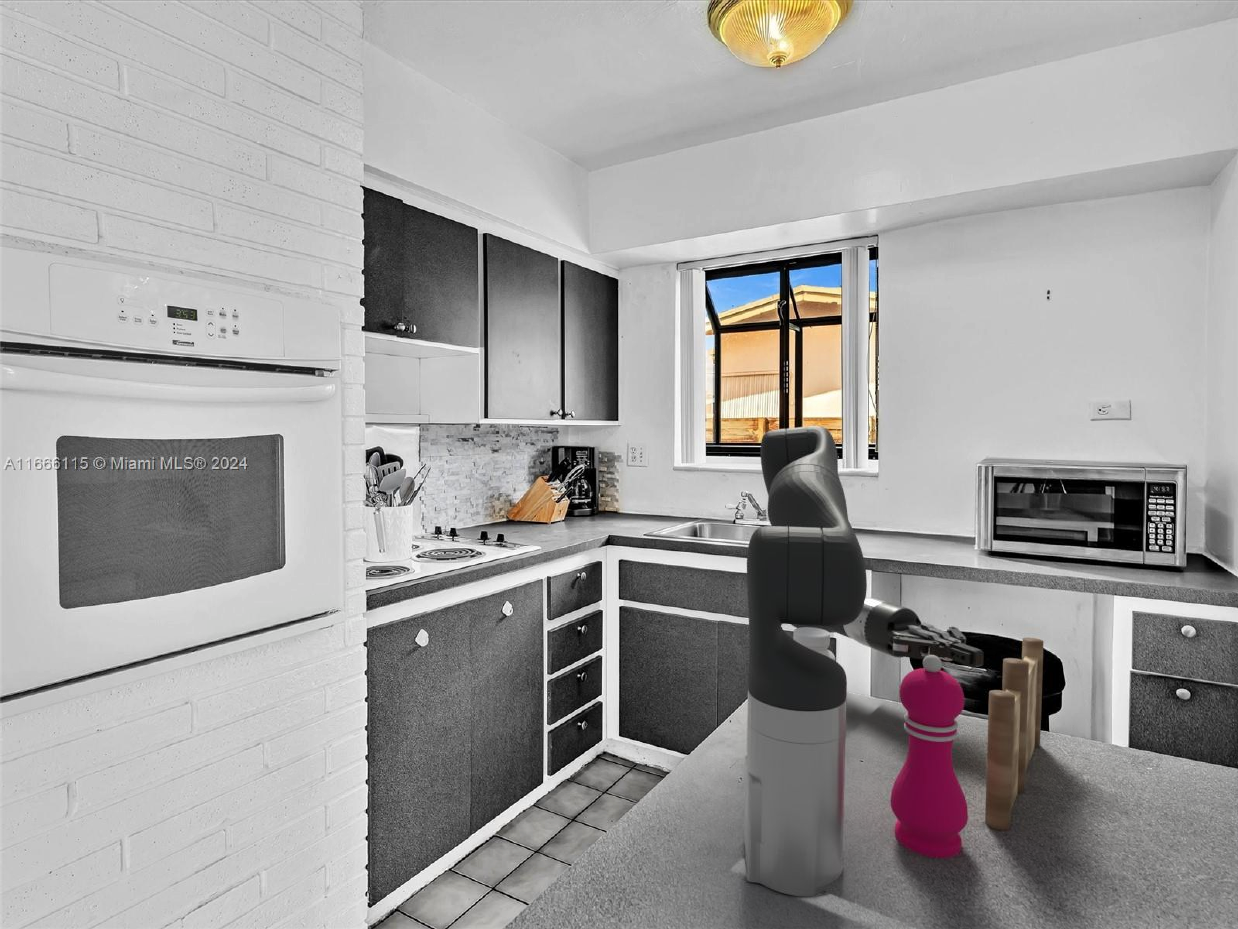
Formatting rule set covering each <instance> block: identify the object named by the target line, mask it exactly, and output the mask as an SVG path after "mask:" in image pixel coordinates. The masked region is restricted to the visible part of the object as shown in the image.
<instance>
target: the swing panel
mask: <svg viewBox="0 0 1238 929" xmlns="http://www.w3.org/2000/svg"><path fill="white" fill-rule="evenodd" d="M1021 644H1022V645H1021V646H1022V647H1021V648H1022V649H1021V650H1022V651H1021V660H1024V661H1027V662H1028V663H1029V679H1028V709H1027V739H1026V769H1025V773H1026V771H1027V769H1028V766H1029V763H1030V761H1031V758H1032V756H1033V753H1034V750H1035V749H1037V748H1040V746H1041V725H1042V724H1041V723H1042V721H1041V720H1042V702H1043V701H1042V698H1043V697H1042V696H1043V673H1044V672H1043V668H1044V640H1042V639H1040V638H1036V637H1022V642H1021Z"/></svg>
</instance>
